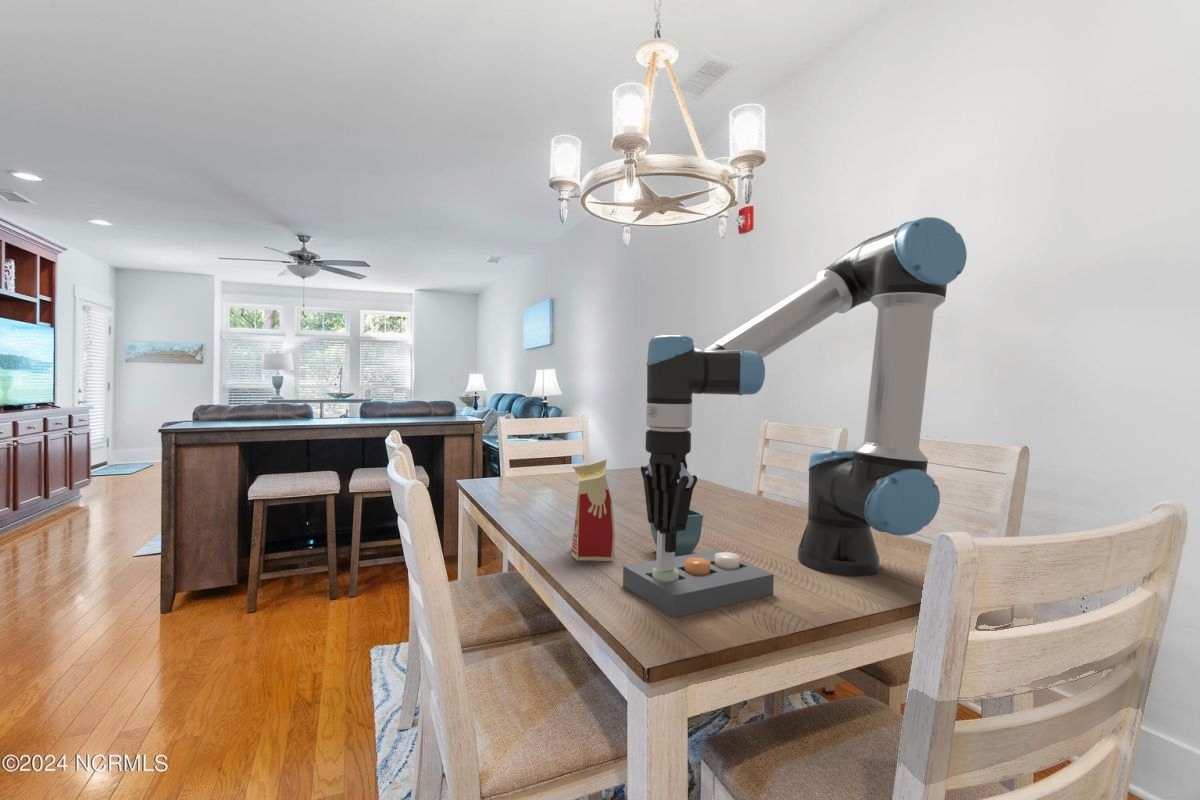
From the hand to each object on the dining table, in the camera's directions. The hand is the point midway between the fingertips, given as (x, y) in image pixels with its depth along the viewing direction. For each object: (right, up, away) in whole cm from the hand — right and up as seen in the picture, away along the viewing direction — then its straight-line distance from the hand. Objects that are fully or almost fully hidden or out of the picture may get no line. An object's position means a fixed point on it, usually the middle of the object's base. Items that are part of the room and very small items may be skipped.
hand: (665, 569), depth 91 cm
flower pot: (+5, -4, +24) cm, 25 cm away
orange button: (+6, -2, +3) cm, 7 cm away
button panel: (+6, -5, +3) cm, 8 cm away
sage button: (0, -3, 0) cm, 3 cm away
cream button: (+12, -2, +7) cm, 14 cm away
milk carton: (-12, -4, +22) cm, 26 cm away
